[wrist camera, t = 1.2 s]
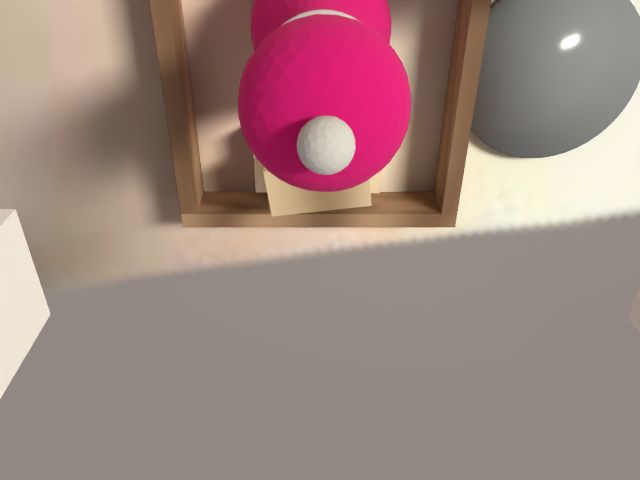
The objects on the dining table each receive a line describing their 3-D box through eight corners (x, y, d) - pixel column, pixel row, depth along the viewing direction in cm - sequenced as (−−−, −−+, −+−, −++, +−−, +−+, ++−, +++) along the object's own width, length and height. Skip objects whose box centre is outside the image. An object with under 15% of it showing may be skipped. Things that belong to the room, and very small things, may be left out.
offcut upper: (274, 192, 37) (271, 216, 34) (266, 149, 35) (263, 171, 33) (367, 182, 36) (371, 205, 34) (364, 138, 35) (367, 159, 32)
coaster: (446, 152, 38) (448, 157, 38) (471, -27, 32) (474, -25, 31) (609, 153, 38) (614, 158, 38) (665, -26, 32) (672, -24, 32)
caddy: (191, 204, 40) (182, 227, 38) (148, -113, 30) (132, -111, 27) (446, 204, 40) (454, 227, 38) (492, -110, 30) (508, -108, 27)
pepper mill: (337, 93, 36) (358, 293, 19) (235, 29, 34) (159, 192, 17) (407, -11, 33) (506, 120, 16) (299, -90, 30) (281, -32, 14)
